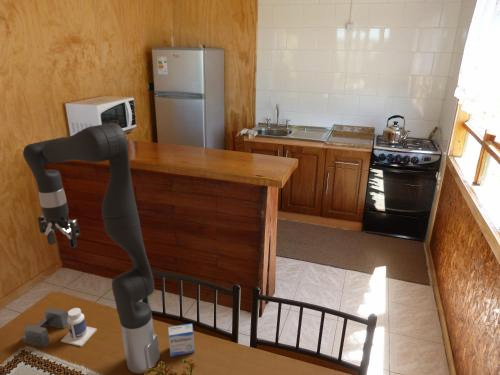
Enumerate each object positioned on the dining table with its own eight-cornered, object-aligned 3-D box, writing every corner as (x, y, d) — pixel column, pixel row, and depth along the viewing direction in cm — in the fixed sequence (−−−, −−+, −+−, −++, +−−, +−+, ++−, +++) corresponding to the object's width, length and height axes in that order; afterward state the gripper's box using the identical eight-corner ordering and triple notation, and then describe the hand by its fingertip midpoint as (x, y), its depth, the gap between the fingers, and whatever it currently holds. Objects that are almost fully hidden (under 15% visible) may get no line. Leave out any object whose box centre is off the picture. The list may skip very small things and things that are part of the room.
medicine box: (170, 357, 121) (168, 336, 118) (169, 347, 125) (167, 326, 122) (195, 352, 122) (193, 331, 119) (193, 342, 127) (192, 322, 123)
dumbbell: (73, 320, 137) (70, 306, 135) (44, 347, 125) (40, 333, 122) (52, 315, 139) (49, 302, 137) (22, 342, 127) (18, 328, 125)
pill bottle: (89, 328, 132) (85, 306, 128) (83, 340, 127) (78, 317, 123) (74, 328, 132) (70, 306, 128) (67, 340, 127) (62, 316, 123)
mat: (96, 329, 132) (96, 328, 132) (81, 346, 125) (81, 345, 125) (77, 325, 134) (77, 324, 134) (61, 341, 127) (61, 340, 127)
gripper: (80, 199, 123) (88, 243, 129) (44, 195, 127) (53, 237, 133) (63, 209, 116) (72, 254, 122) (26, 204, 120) (37, 248, 126)
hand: (62, 245), depth 127 cm, fingers open, 8 cm apart
